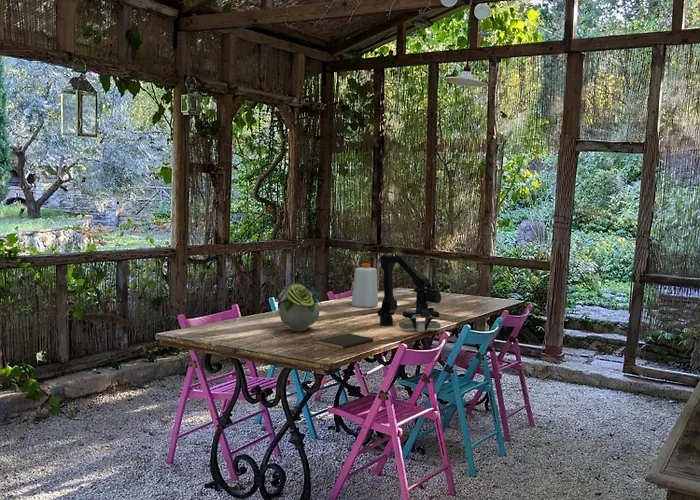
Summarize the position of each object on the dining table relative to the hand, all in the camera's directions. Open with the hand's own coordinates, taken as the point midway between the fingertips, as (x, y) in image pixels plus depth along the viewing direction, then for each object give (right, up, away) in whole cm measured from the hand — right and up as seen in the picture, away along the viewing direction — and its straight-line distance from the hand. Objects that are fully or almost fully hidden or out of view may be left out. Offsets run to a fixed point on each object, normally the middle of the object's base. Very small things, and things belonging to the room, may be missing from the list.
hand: (420, 330), depth 340 cm
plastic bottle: (-28, +5, +83) cm, 87 cm away
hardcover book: (-39, -3, -30) cm, 49 cm away
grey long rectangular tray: (+1, -1, +10) cm, 11 cm away
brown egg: (-6, +1, +9) cm, 11 cm away
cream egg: (0, -1, 0) cm, 1 cm away
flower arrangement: (-64, 0, -2) cm, 64 cm away
